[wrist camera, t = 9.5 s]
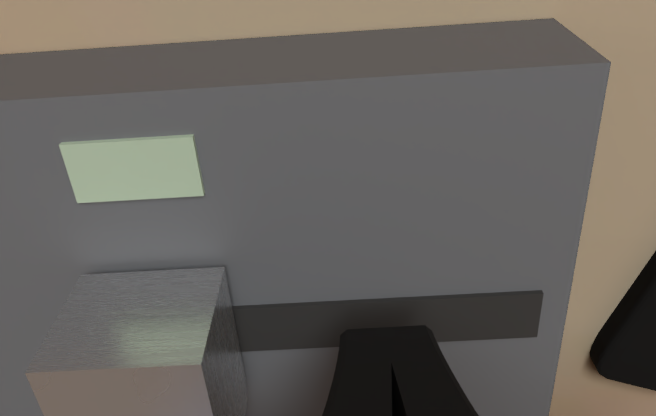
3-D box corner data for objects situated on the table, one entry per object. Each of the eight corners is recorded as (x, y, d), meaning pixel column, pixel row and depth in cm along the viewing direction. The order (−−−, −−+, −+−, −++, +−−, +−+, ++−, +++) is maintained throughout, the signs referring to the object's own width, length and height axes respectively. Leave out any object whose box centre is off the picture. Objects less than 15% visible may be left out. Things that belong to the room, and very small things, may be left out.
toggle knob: (124, 399, 12) (84, 507, 10) (81, 274, 10) (24, 373, 8) (248, 394, 12) (233, 501, 10) (224, 267, 10) (201, 364, 8)
